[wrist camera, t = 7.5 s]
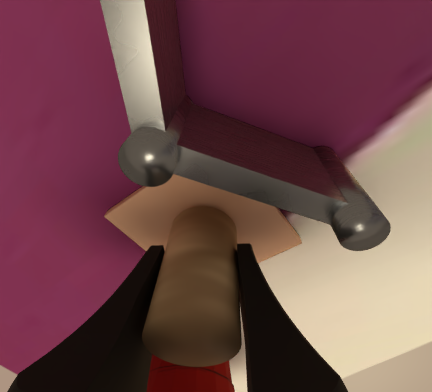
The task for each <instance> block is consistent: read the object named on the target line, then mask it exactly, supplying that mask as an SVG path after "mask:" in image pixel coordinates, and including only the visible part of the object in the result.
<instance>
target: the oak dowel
mask: <svg viewBox="0 0 432 392" xmlns="http://www.w3.org/2000/svg"><path fill="white" fill-rule="evenodd" d="M142 341H143V343H144V345H145V347H146V348H147V349H148V350H149V351H150V352H151V353H152V354H153V355H155V356H156V357H158V358H160V359H162V360H164V361H167V362H170V363H173V364H177V365H182V366H190V367H206V366H213V365H217V364H221V363H223V362H226V361H228V360H230V359H231V358H233V357H234V356H235V355H236V354H237V353H238V352H239V350H240V348H241V321H240V297H239V274H238V260H237V230H236V226H235V223H234V222H233V220H232V219H231V218H230V217H229V216H228V215H227V214H226V213H224V212H223V211H221V210H218V209H216V208H213V207H207V206H198V207H192V208H189V209H186V210H184V211H183V212H181V213H180V214H179V215H178V216H177V217H176V218H175V219H174V221H173V224H172V227H171V231H170V234H169V238H168V242H167V245H166V249H165V252H164V256H163V260H162V263H161V267H160V271H159V274H158V278H157V282H156V285H155V289H154V292H153V296H152V300H151V303H150V307H149V311H148V314H147V318H146V322H145V325H144V329H143V332H142Z"/></svg>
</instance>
